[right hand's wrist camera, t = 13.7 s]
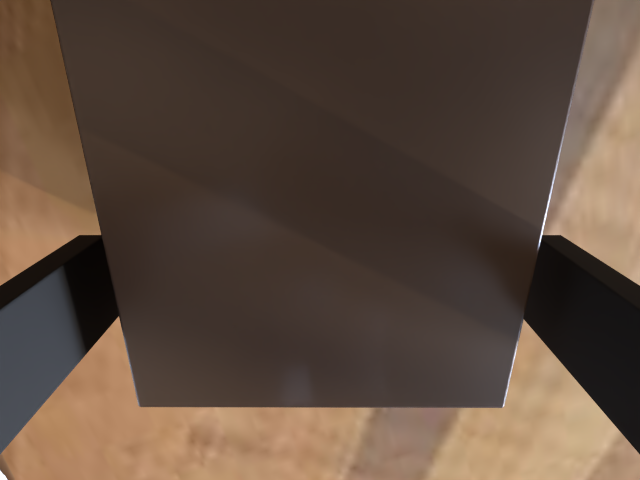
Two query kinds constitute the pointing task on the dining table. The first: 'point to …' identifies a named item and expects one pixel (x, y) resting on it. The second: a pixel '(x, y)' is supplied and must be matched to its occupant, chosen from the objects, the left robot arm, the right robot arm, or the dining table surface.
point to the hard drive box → (2, 476)
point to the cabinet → (322, 190)
